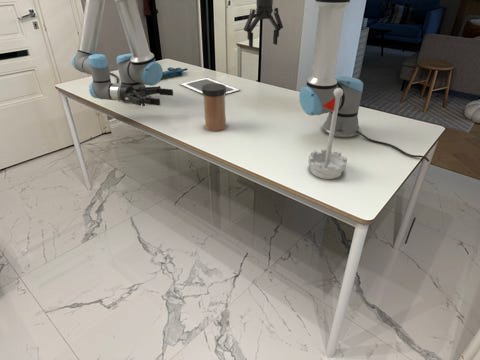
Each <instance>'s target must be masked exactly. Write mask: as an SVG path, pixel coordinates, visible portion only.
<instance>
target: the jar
mask: <svg viewBox="0 0 480 360" xmlns="http://www.w3.org/2000/svg"><path fill="white" fill-rule="evenodd" d="M203 107H204V124H205V129H206V130H207V131H210V132H219V131H223V130H225V129H226V127H227V118H226V115H227V114H226V95H225V94H224V95H221V96H206V95H203Z"/></svg>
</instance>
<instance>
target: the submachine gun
mask: <svg viewBox="0 0 480 360" xmlns="http://www.w3.org/2000/svg"><path fill="white" fill-rule="evenodd" d="M186 71H188V67H186V68H182V67H176V68H175V67H171V66H169V67H168V68H167V70H163V74H162V78H161V79H163V78H167V77H168V78H169V77H172V76H176V75H182V74H183V73H184V72H186Z"/></svg>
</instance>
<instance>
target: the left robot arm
mask: <svg viewBox="0 0 480 360" xmlns="http://www.w3.org/2000/svg"><path fill="white" fill-rule="evenodd" d="M113 1H114V2H115V6H116V8H117V12H118V15H119V18H120V21H121V24H122V27H123V28H122V29H123V31H124V34H125V37H126V41H127V43H128V46H129V50H130V53H125V54H120V55H118V56H116V66H117V70H118V74H119V75H116V74H115V73H112V72H110V68H109V63H108V59H107V56H106V55H105V54H102V53H97V47H98V41H99V36H100V31H101V26H102V20H103V14H104V9H105V4H106V0H85V4H84V10H83V16H82V23H81V28H80V34H79V39H78V46H77V52H76V53H75V54H74V55H73V56H72V57H71V60H70V61H71V66H72V67H73V68H74V69H75V70H76V71H79V72H80V73H84V74H87V75H90V76H91V78H92V81H91V83H89V86H88V87H89V89H88V92H89V94H90V97H92V98H94V99H99V100H106V101H107V100H108V101H117V102H123V103H126V104H127V103H128V104H133V105H136V106H141V107H145V106H146V105H151V106H152V105H153V106H161V100H160V98H157V97H150V96H151V95H158V94H159V95H161V96H171V97H173V96H174V89H171V88H163V87H161V86H160V85H158V84H159V83H160V82H161V79H163V78H162V74H163V72H164V70H163V67H162V65H161V64H160V63H159V62H158V61H156V57H155V54H154V53H153V52H151V51H150V48H149V44H148V40H147V36H146V33H145V29H144V27H143V26H144V25H143V22H142V19H141V15H140V11H139V8H138V4H137V1H136V0H113ZM111 76H113V77H115V79H116V83H115V82H114V83H113V82H112V80H111V79H112V78H111ZM118 76H119V77H118ZM119 79H120V83H119ZM156 85H158V86H156Z"/></svg>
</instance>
